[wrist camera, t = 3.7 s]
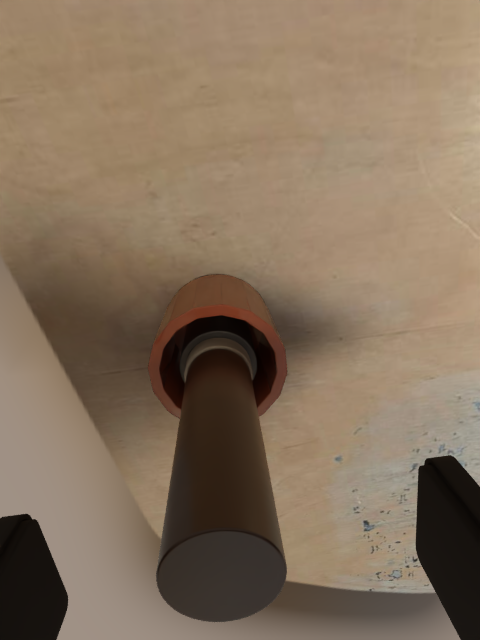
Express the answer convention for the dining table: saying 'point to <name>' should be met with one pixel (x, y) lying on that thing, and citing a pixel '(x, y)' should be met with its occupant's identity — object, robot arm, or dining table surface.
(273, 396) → the brush pot
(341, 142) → the dining table surface
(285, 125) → the dining table surface
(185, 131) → the dining table surface
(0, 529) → the robot arm
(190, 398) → the brush
